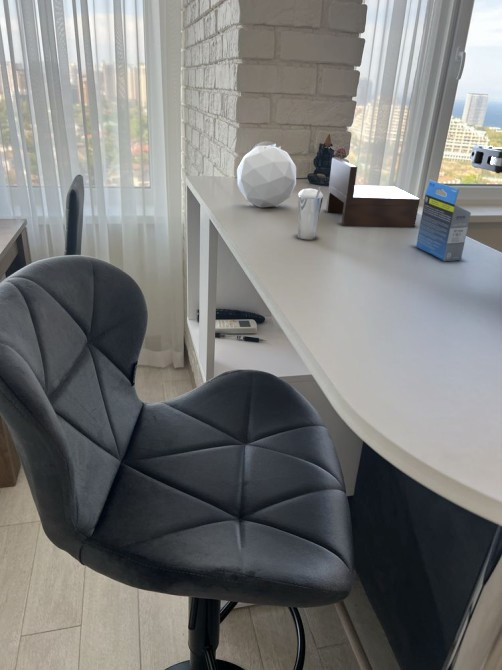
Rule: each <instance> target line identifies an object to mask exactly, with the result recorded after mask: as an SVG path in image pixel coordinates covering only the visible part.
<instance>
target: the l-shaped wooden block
mask: <svg viewBox="0 0 502 670" xmlns="http://www.w3.org/2000/svg"><path fill="white" fill-rule="evenodd" d="M357 172H358V166H356V165H354V164H352V163H350V162H348V161H346V160H344V159H342V158H340V157H332V158H331V164H330V173H329V181H328V190H327V198H326V199H327V200H326V206H325V212H327V213H342V216H341V223H340V224H341V226H342V227H383V228H384V227H387V228H388V227H389V228H390V227H391V228H415V226H416V221H417V217H418V211H419V206H420V201H421V198H418V197H416V196H415V195H412V194H410V193H408V192H406V191H405V190H402V189H400V188H398V187H396V186H384V185H383V186H382V185H356V181H357V180H356V179H357Z"/></svg>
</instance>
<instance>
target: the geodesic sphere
mask: <svg viewBox="0 0 502 670" xmlns="http://www.w3.org/2000/svg"><path fill="white" fill-rule="evenodd" d="M276 145H277V144H276V143H274V144H273V143H272V144H269V145H257V146H255V147H254V148H252V149H251V150H250V151H249V152H247V153H246V154H245V155H244V156H243V157H242V159H241V161H240V163H239V165H238V167H237V169H236V178H237V181H236V182H237V188H238V190H239V191H240V192H241V194H242V196H243V197H244V198H245V200H246V202H249V203H251V204H252V205H254V206H256V207H257V208H270V207H277V206H279V205H280V204H281V203H283V202H285V201H286V200H288V199H290V197H291V195H292V194H293V191H294V189H295V187H296V186H297V166H296V164H295V163H294V160H292V157H291V156H290V154H289V153H288V152H287V151H286V150H284V149H282V147H281V146H282V145H280V146H278V147H277V146H276Z"/></svg>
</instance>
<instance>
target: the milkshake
mask: <svg viewBox="0 0 502 670" xmlns="http://www.w3.org/2000/svg"><path fill="white" fill-rule="evenodd" d="M321 190H322V187H321V186H320V187H319V186H318V189H315V188H312V187H311V188H310V187H309V188H302V189H301V190H300V191H298V194H297V195H298V227H297V238H299V239H301V240H306V241H307V240H309V241H311V240H315V238H316V236H317V235H316V234H317V229H318V223H319V217H320V213H321V208H322V204H323V199H324V194H323V192H321Z"/></svg>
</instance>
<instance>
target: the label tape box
mask: <svg viewBox="0 0 502 670" xmlns="http://www.w3.org/2000/svg"><path fill="white" fill-rule="evenodd" d="M441 190H442V192H443V193H445V195H442V194H439V193H437V191H439V192H440V191H441ZM459 192H460V189H459V188H456V187H453V186H449V185H446V184H443V183H441V182H438V181H434V180H432V179H429V181H428V184H427V188H426V190H425V195H424V201H423V206H422V212H421V218H420V224H419V230H418V234H417V239H416V245H415V246H416V248H418V249H419V250H421V251H424V252H426V253H428V254H430V255H431V256H434V257H436V258H438V259H440V260H442V261H444V262H451V261H452V262H453V261H461V260H462V258H463V253H464V247H465V242H466V238H467V233H468V228H469V223H470V218H471V216H472V214H471V212H470V211H469V210H467V209H465V208H463V207H461V206H459V205H458V204H456V202H457V199H458V195H459Z"/></svg>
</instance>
